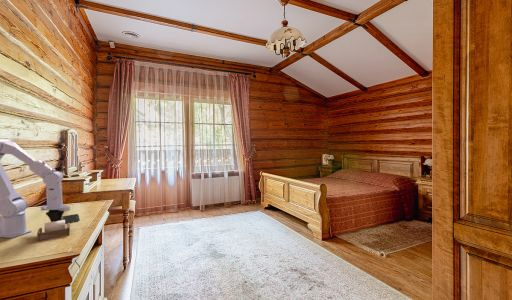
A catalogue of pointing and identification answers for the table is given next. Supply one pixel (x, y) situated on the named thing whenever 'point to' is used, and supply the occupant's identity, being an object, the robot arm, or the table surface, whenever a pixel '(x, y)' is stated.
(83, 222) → the table surface
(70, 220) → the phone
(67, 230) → the roll holder
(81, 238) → the table surface
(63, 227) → the paper roll
